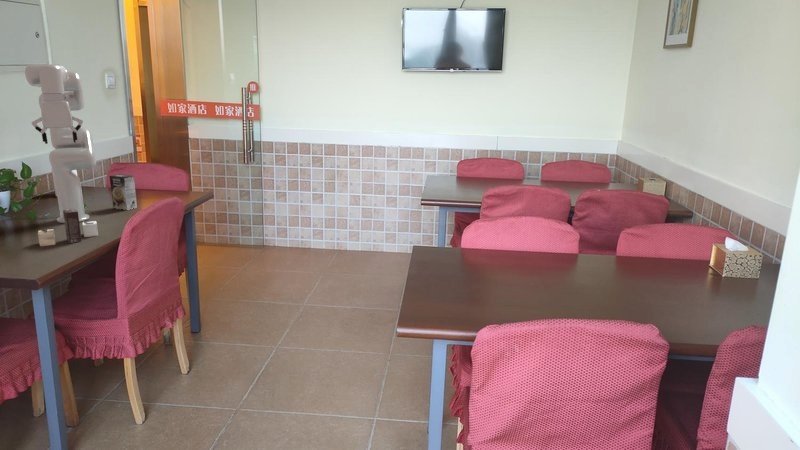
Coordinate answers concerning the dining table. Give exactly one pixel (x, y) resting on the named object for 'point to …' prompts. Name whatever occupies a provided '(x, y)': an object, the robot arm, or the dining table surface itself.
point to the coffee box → (123, 191)
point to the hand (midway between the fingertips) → (60, 142)
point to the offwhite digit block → (90, 229)
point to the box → (72, 225)
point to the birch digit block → (46, 237)
